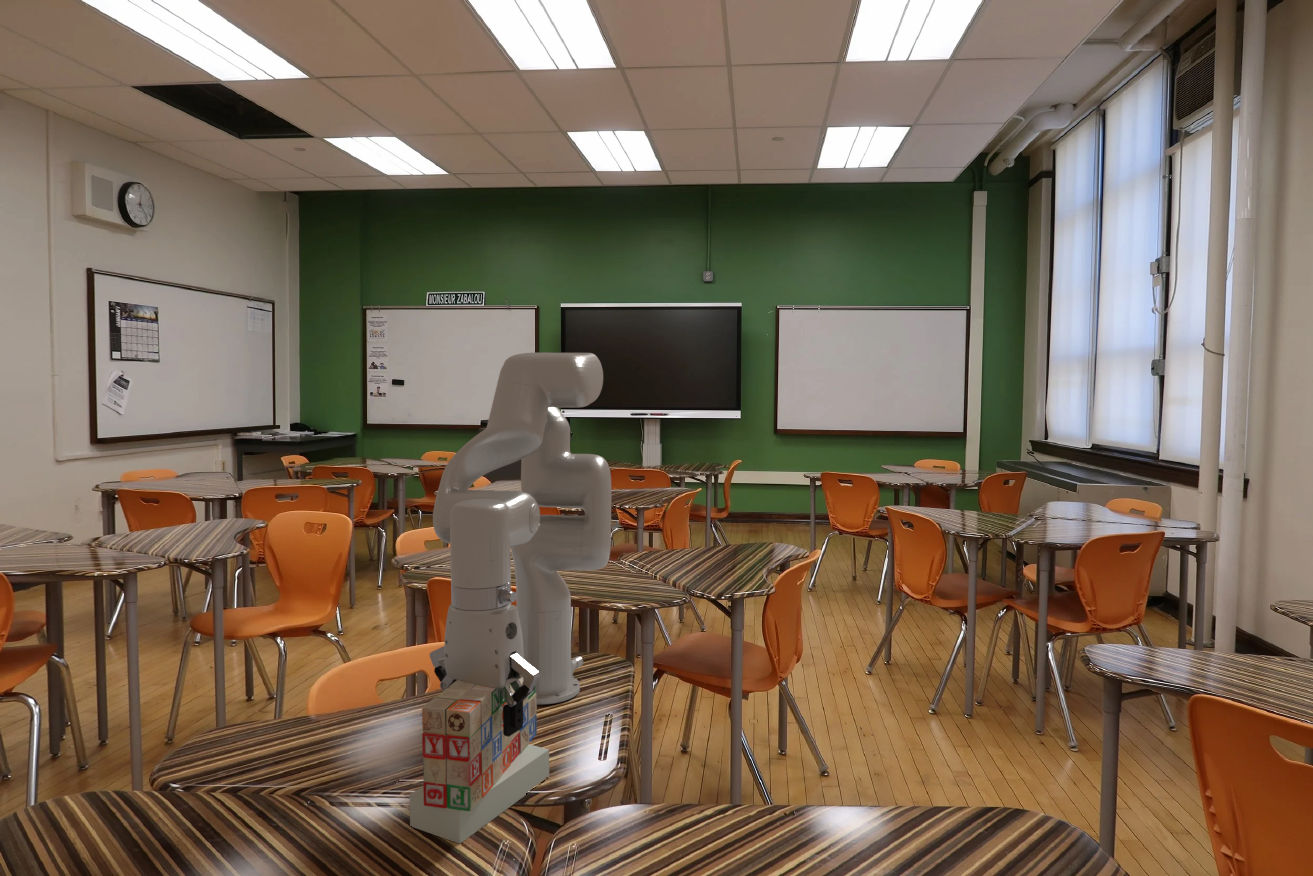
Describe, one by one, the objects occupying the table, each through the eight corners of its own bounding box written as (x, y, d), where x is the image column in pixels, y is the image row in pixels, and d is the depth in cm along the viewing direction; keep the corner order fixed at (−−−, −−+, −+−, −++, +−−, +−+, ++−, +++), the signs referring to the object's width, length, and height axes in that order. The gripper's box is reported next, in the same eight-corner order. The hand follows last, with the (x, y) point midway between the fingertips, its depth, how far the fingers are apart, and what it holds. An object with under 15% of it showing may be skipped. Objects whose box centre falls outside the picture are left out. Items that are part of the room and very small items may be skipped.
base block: (503, 764, 113) (503, 737, 112) (549, 777, 109) (549, 749, 109) (410, 826, 97) (409, 794, 96) (459, 843, 93) (459, 811, 93)
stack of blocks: (497, 730, 115) (496, 648, 114) (537, 735, 113) (537, 651, 112) (422, 806, 94) (420, 705, 93) (471, 812, 92) (469, 710, 92)
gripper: (553, 597, 100) (554, 727, 102) (450, 581, 109) (453, 701, 110) (516, 612, 94) (518, 751, 95) (410, 594, 102) (413, 722, 103)
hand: (483, 724), depth 102 cm, fingers open, 9 cm apart
